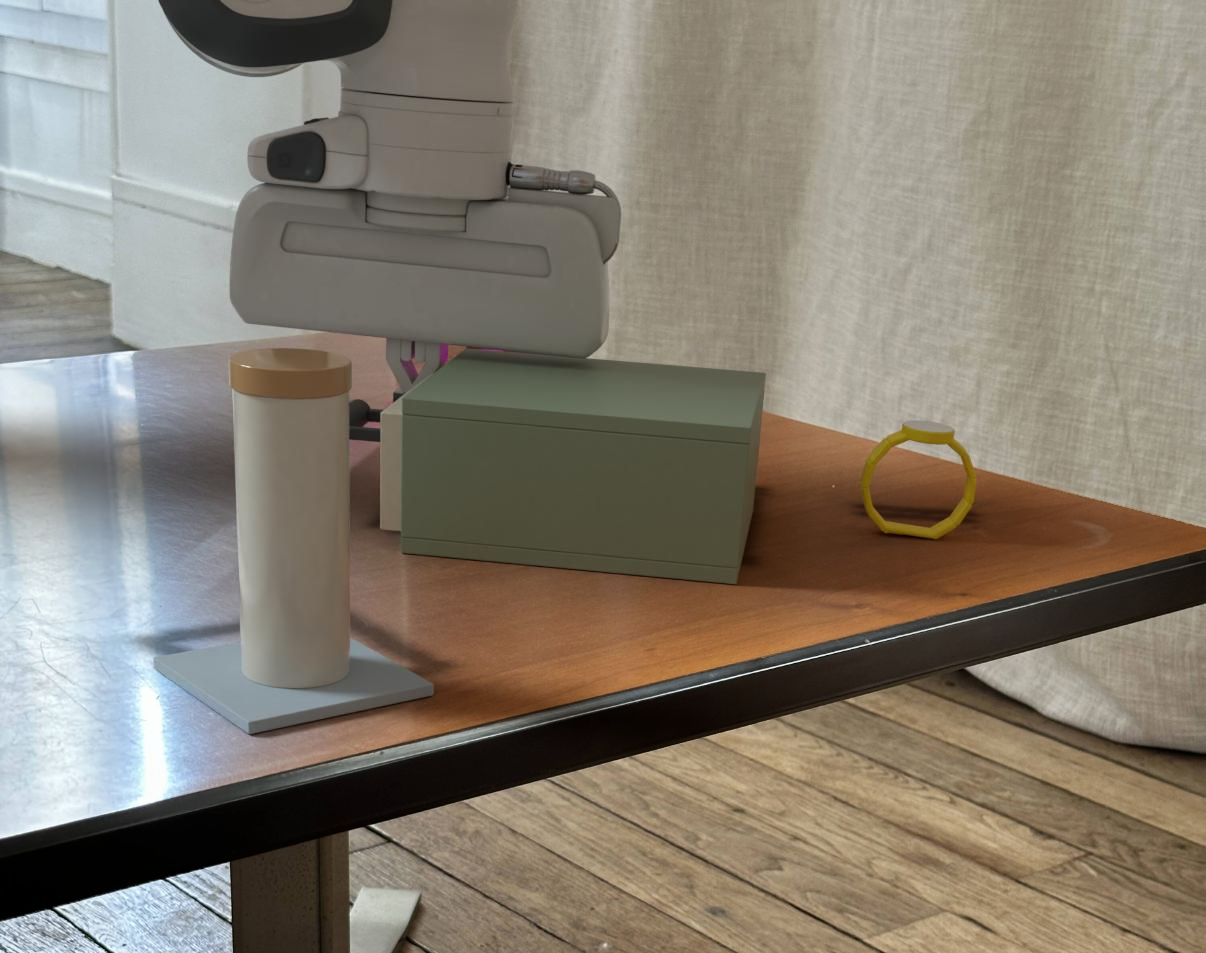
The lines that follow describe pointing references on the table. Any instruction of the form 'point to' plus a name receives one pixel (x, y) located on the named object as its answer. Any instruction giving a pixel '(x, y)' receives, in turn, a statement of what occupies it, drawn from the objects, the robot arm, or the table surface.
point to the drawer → (383, 452)
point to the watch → (928, 435)
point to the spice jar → (292, 514)
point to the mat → (268, 708)
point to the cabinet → (582, 464)
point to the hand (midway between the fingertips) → (416, 423)
